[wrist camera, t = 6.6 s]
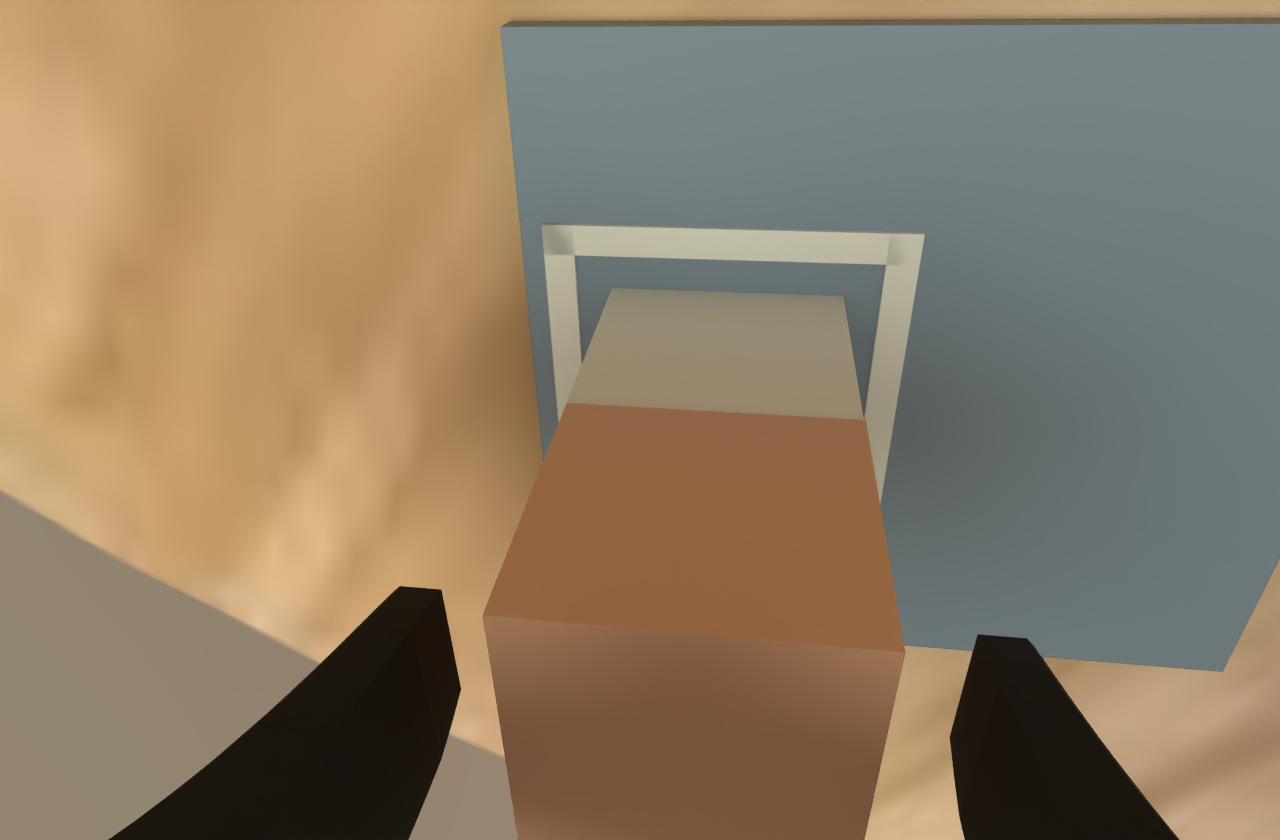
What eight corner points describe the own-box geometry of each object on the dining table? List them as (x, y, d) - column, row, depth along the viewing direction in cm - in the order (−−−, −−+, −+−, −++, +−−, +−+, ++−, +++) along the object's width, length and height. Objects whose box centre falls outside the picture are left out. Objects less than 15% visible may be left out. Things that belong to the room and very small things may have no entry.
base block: (821, 484, 19) (833, 636, 15) (619, 472, 19) (582, 615, 16) (843, 296, 16) (864, 421, 13) (612, 287, 17) (565, 405, 13)
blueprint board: (1211, 652, 21) (1224, 675, 20) (563, 599, 23) (558, 619, 22) (1521, 17, 13) (1555, 23, 12) (509, 22, 15) (498, 27, 14)
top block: (833, 635, 15) (852, 891, 11) (581, 614, 15) (519, 850, 12) (865, 420, 13) (905, 652, 9) (566, 403, 13) (482, 615, 9)
